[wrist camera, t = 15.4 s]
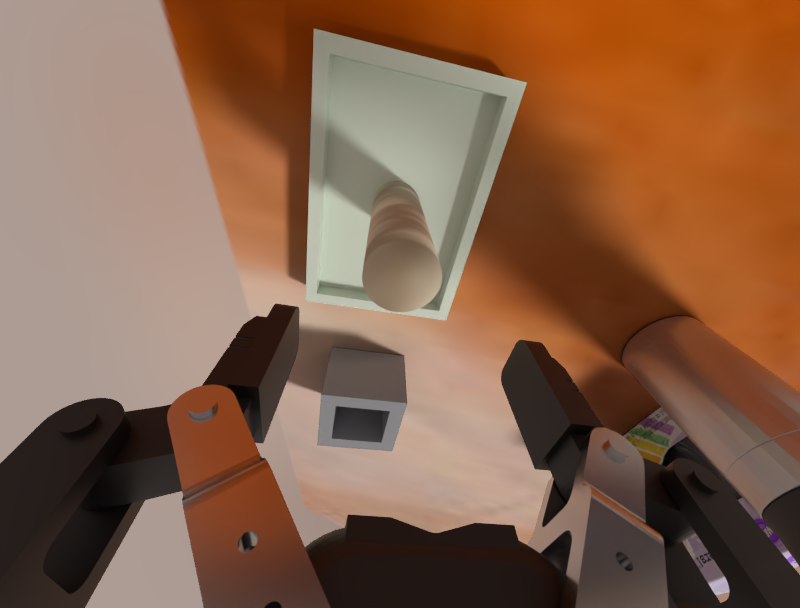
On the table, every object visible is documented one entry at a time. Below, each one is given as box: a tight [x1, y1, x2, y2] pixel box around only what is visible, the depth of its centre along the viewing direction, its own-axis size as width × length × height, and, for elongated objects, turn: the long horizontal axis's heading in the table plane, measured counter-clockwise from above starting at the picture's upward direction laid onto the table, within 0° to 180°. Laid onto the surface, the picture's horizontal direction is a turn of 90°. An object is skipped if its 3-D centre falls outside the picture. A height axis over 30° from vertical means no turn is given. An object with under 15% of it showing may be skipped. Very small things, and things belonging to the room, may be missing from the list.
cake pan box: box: [623, 407, 799, 595], centre depth 41 cm, size 19×5×18 cm, turn 156°
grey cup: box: [317, 347, 407, 451], centre depth 36 cm, size 9×9×7 cm
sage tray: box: [305, 28, 527, 320], centre depth 26 cm, size 14×20×2 cm
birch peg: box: [362, 181, 442, 312], centre depth 21 cm, size 4×4×13 cm
